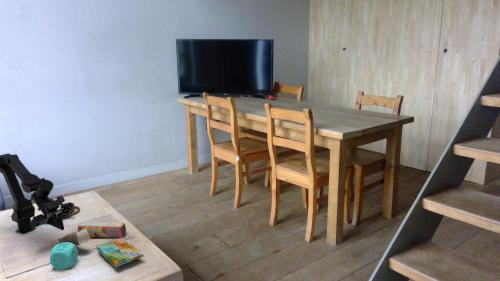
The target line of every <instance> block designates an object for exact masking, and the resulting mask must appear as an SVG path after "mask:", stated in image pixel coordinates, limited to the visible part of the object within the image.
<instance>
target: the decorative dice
mask: <svg viewBox="0 0 500 281" xmlns="http://www.w3.org/2000/svg"><path fill="white" fill-rule="evenodd" d="M50 251H51V252H50V254H49V262H50V265H51V266H52V267H53V268H54V269H56V270H61V271H62V270H67V269H71V268H72V267H74V266H75V265H76V263H77V262H78V257H79V249H78V247H77V246H75V245H74V244H72V243H69V242H65V243H57V244H56V245H54V246H53V248H52V249H51V250H50Z"/></svg>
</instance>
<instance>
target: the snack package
mask: <svg viewBox="0 0 500 281" xmlns="http://www.w3.org/2000/svg"><path fill="white" fill-rule="evenodd" d="M84 229H87V232H88V234H89V236H90V238H113V239H114V238H115V239H119V238H122V237H123V238H124V237H125V235H126V233H127V228H126V224H125V222H123V221H121V222H110V221H80V223H78V225H77V231H80V230H84Z"/></svg>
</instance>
